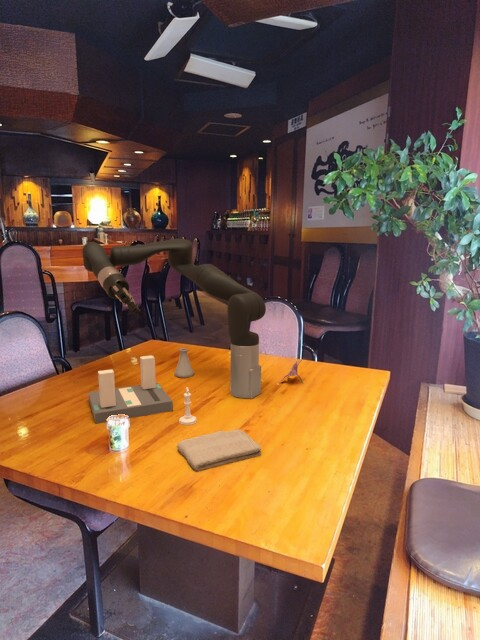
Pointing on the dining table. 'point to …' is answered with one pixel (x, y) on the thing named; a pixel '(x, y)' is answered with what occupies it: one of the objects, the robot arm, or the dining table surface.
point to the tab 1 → (106, 388)
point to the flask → (184, 365)
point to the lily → (294, 370)
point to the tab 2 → (147, 372)
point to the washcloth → (218, 449)
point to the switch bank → (132, 402)
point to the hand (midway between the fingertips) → (136, 312)
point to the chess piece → (187, 411)
